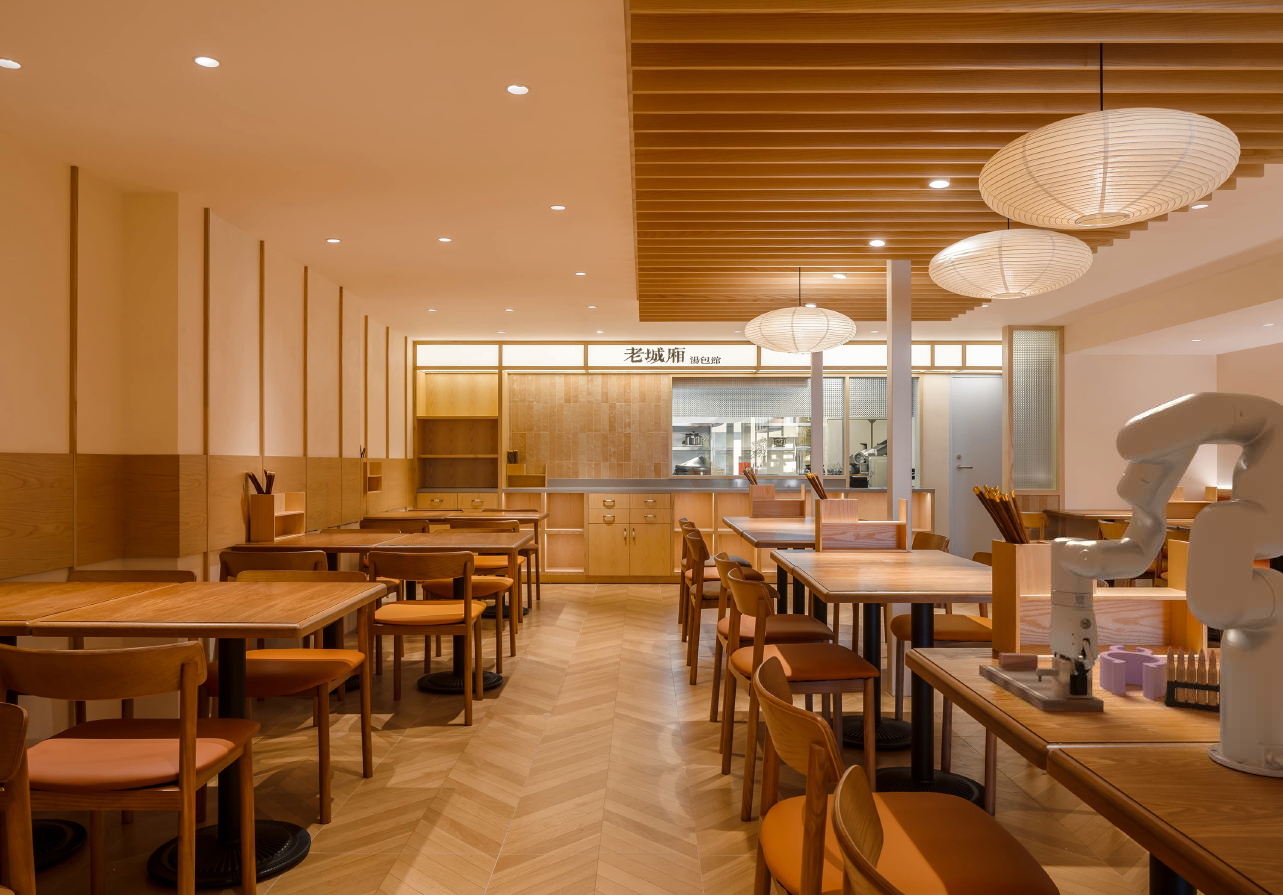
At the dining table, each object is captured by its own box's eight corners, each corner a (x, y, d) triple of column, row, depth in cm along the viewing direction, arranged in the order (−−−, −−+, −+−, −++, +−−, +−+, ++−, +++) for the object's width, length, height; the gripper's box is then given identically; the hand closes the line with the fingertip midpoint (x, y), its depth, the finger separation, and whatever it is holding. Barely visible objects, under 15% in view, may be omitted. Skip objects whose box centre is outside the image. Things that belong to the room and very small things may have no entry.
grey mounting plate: (1103, 711, 160) (1103, 685, 160) (1043, 710, 159) (1043, 684, 159) (1030, 674, 188) (1030, 652, 188) (979, 673, 187) (979, 651, 187)
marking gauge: (1092, 697, 162) (1092, 661, 162) (1042, 697, 161) (1042, 661, 162) (1080, 692, 166) (1080, 657, 166) (1032, 691, 165) (1032, 657, 166)
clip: (1098, 673, 190) (1098, 643, 190) (1162, 680, 184) (1162, 649, 184) (1100, 693, 173) (1100, 660, 173) (1170, 702, 167) (1170, 668, 167)
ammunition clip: (1165, 706, 164) (1165, 645, 164) (1164, 703, 165) (1164, 644, 166) (1230, 713, 159) (1230, 651, 159) (1228, 711, 161) (1228, 649, 161)
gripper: (1115, 606, 156) (1115, 703, 155) (1067, 593, 173) (1067, 680, 172) (1077, 606, 156) (1077, 703, 155) (1032, 593, 172) (1032, 680, 172)
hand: (1071, 690), depth 164 cm, fingers closed on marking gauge, 4 cm apart
